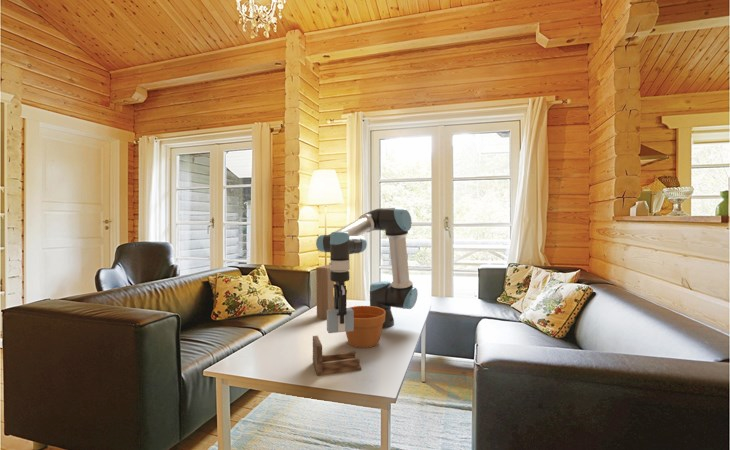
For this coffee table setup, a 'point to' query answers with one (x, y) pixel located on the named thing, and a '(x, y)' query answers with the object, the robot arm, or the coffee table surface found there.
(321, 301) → the decorative block
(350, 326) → the blue-gray rectangular block
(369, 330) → the flower pot
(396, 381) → the coffee table surface
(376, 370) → the coffee table surface
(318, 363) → the track
